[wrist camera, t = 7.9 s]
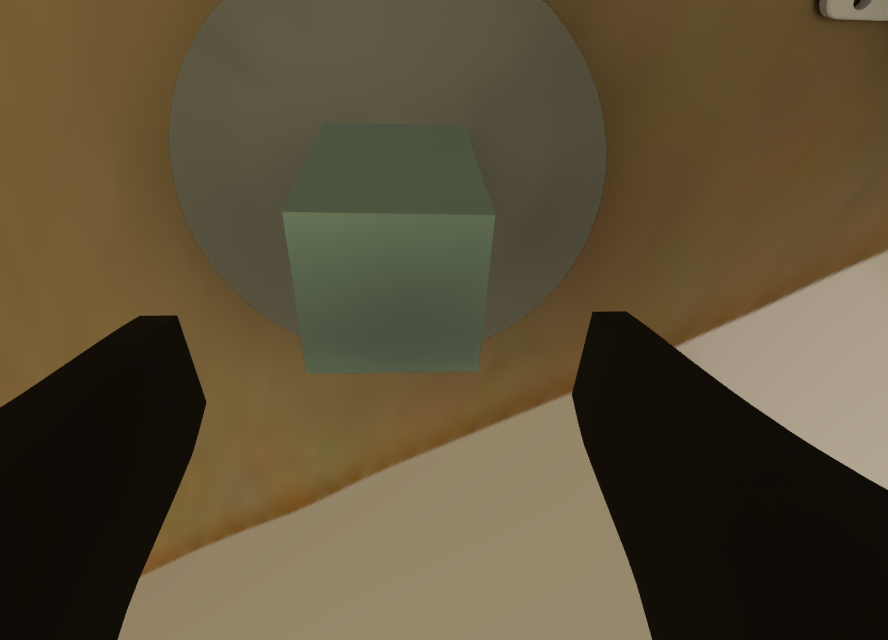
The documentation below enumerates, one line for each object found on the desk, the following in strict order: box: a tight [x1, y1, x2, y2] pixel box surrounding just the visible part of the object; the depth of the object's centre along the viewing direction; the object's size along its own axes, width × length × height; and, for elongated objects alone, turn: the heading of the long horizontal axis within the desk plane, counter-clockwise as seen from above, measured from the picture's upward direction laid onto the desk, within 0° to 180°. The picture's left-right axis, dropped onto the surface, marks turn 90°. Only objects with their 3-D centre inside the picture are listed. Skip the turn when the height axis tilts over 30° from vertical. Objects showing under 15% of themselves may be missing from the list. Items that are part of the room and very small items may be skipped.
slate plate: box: [169, 0, 607, 341], centre depth 16 cm, size 13×13×2 cm
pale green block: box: [282, 122, 495, 373], centre depth 13 cm, size 4×4×6 cm
